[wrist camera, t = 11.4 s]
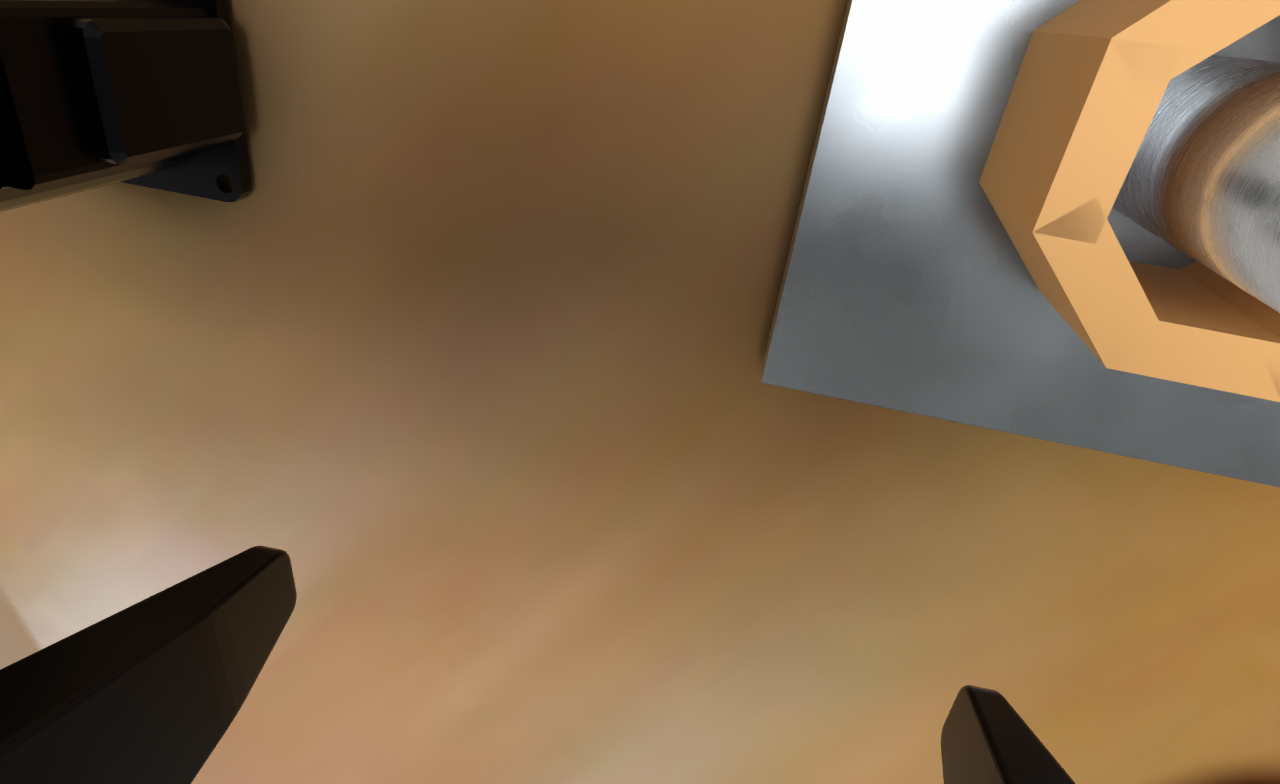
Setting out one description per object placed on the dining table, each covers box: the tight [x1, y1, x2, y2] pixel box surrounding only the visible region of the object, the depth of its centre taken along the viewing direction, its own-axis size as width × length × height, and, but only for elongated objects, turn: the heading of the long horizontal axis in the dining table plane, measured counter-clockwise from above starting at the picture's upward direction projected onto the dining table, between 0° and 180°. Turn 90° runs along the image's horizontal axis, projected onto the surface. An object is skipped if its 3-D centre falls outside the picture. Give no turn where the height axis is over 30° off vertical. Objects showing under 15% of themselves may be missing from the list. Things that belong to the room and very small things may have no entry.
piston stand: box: [761, 0, 1280, 487], centre depth 12 cm, size 14×14×8 cm
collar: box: [979, 0, 1280, 402], centre depth 13 cm, size 7×7×4 cm
